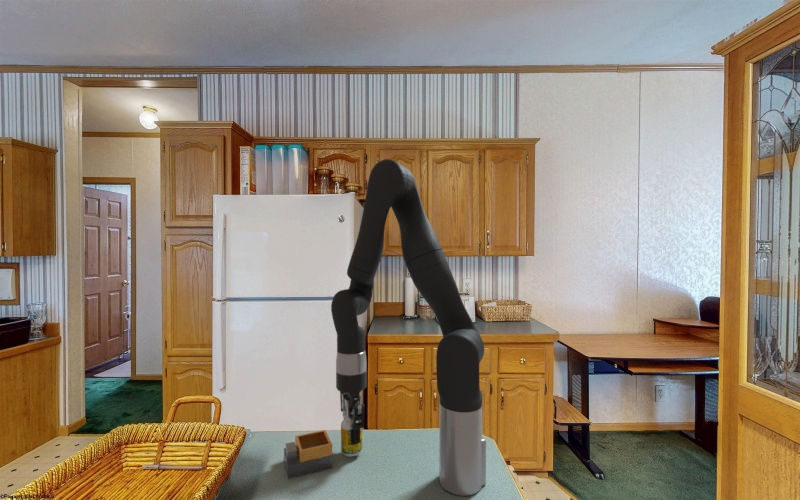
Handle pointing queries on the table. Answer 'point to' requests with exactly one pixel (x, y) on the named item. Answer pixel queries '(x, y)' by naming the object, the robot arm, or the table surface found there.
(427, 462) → the table surface
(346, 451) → the supplement bottle
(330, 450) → the orange open box frame
